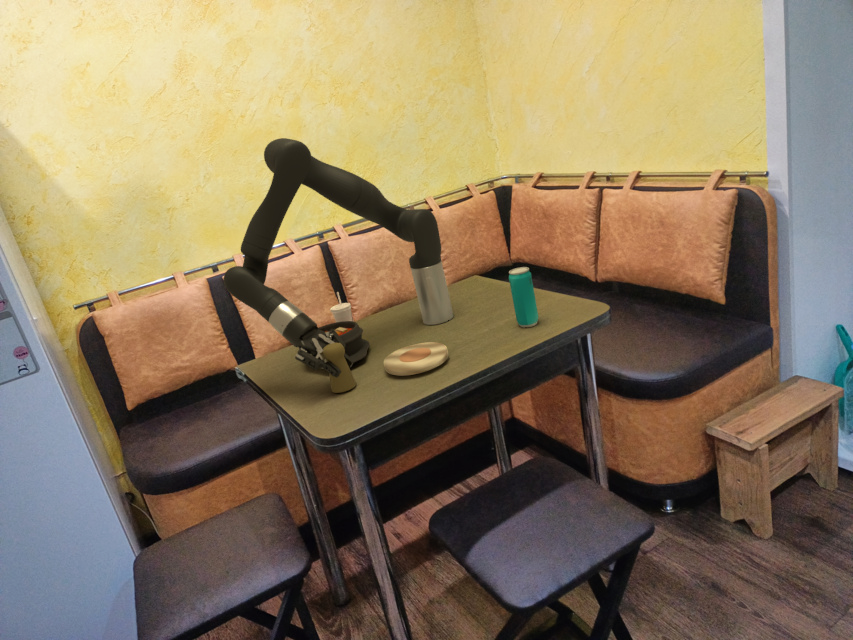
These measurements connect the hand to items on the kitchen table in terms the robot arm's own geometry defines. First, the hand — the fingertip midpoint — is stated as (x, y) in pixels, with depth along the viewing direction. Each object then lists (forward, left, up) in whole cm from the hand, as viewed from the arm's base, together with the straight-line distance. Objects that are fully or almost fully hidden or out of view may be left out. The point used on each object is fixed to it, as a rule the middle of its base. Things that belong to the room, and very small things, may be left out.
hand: (345, 369), depth 141 cm
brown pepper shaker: (0, -2, -5) cm, 5 cm away
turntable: (-10, +14, -5) cm, 18 cm away
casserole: (-21, -12, -5) cm, 25 cm away
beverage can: (-29, +40, -5) cm, 50 cm away
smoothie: (-39, -16, -5) cm, 43 cm away
